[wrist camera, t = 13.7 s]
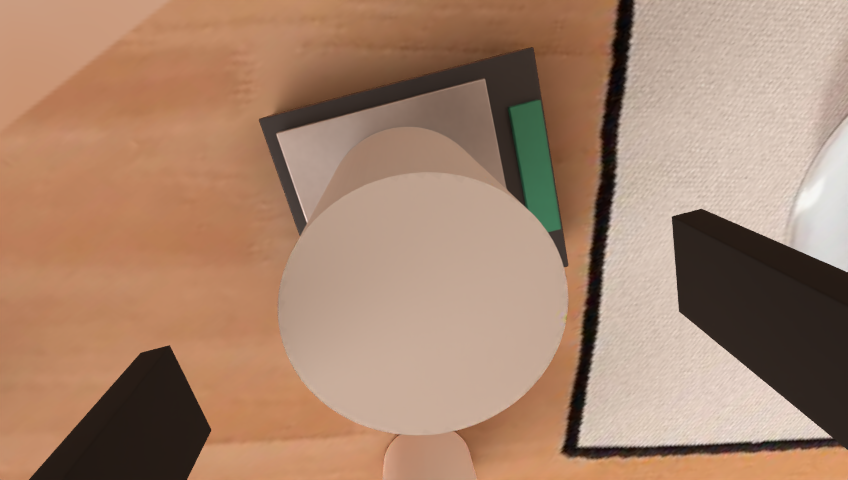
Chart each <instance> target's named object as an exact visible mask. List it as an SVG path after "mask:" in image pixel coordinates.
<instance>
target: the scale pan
mask: <svg viewBox="0 0 848 480" xmlns="http://www.w3.org/2000/svg"><path fill="white" fill-rule="evenodd" d="M397 127H419V128H425V129H429V130H432V131H435V132H438V133H440V134H442V135H444V136H446V137H448V138H450V139H451V140H453V141H454V142H456V143H457V144H458V145H459V146H461V147H462V148H463V149H464V150H465V151H466V152H467V153H468V154H469V155H470V156H471V157H472V158H473V159H474V160H475V161H477V162H478V163H479V164H480V165H481V166H482V167H483V168H484V169H485V170H486V171H487V172H488V173H489V174H490V175H492V176H493V177H494V178H495V179H496V180H497V181H498V182H499V183H500V184H501V185H502V186H503V187H504V188H505V189H506V190H507V188H506V183H505V178H504V173H503V168H502V163H501V158H500V152H499V147H498V142H497V137H496V132H495V127H494V122H493V117H492V112H491V106H490V101H489V96H488V91H487V86H486V81H485V79H484V78H481V79H477V80H473V81H469V82H465V83H462V84H458V85H454V86H450V87H446V88H443V89H439V90H435V91H431V92H427V93H424V94H420V95H416V96H412V97H408V98H404V99H401V100H397V101H393V102H389V103H385V104H382V105H378V106H374V107H370V108H366V109H363V110H359V111H355V112H351V113H347V114H344V115H340V116H336V117H332V118H328V119H324V120H321V121H317V122H313V123H309V124H305V125H302V126H298V127H294V128H290V129H286V130H283V131H279V132H277V133H276V135H277V138H278V141H279V144H280V147H281V150H282V153H283V156H284V158H285V161H286V164H287V167H288V170H289V173H290V176H291V179H292V182H293V185H294V188H295V190H296V193H297V196H298V199H299V202H300V205H301V208H302V211H303V214H304V217H305V219H306V222H307V223H308V221H309V219H310V217H311V215H312V213H313V212H314V210H315V208H316V206H317V204H318V202H319V200H320V199H321V197H322V195H323V193H324V191H325V189H326V188H327V186H328V184H329V182H330V180H331V178H332V176H333V175H334V173H335V171H336V169H337V167H338V166H339V164H340V162H341V161H342V160H343V158H344V157H345V156H346V155H347V153H348V152H349V151H350V150H351V149H352V148H353V147H354V146H356V145H357V144H358V143H359V142H361V141H362V140H364V139H365V138H367V137H369V136H371V135H373V134H375V133H378V132H380V131H383V130H386V129H391V128H397Z"/></svg>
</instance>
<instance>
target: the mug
mask: <svg viewBox="0 0 848 480" xmlns="http://www.w3.org/2000/svg"><path fill="white" fill-rule="evenodd" d="M383 480H477V477H476V474H475V470H474V466H473V463H472V459H471V455H470V452H469V449H468V446H467V444H466V443H465V441H464V440H463V439H462V438H461V437H460V436H459V435H458V434H457V433H455V432H454V431H452V432H448V433H441V434H433V435H402V434H400V435H399V436H397V437H396V438H395V439H394V440H393V441H392V442H391V444H390V445H389V447H388V449H387V451H386V454H385V457H384V466H383Z"/></svg>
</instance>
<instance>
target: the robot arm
mask: <svg viewBox="0 0 848 480" xmlns="http://www.w3.org/2000/svg"><path fill="white" fill-rule="evenodd" d="M672 225H673V238H674V251H675V264H676V277H677V290H678V303H679V312H681V313H682V314H683V315H684V316H685V317H687V318H688V319H689V320H690V321H692V322H693V323H694V324H695V325H696V326H698V327H699V328H700V329H701V330H702V331H704V332H705V333H706V334H707V335H709V336H710V337H711V338H712V339H713V340H715V341H716V342H717V343H718V344H719V345H721V346H722V347H723V348H724V349H726V350H727V351H728V352H729V353H730V354H732V355H733V356H734V357H735V358H737V359H738V360H739V361H740V362H741V363H743V364H744V365H745V366H746V367H747V368H749V369H750V370H751V371H752V372H754V373H755V374H756V375H757V376H758V377H760V378H761V379H762V380H763V381H765V382H766V383H767V384H768V385H769V386H771V387H772V388H773V389H774V390H775V391H777V392H778V393H779V394H780V395H782V396H783V397H784V398H785V399H786V400H788V401H789V402H790V403H791V404H793V405H794V406H795V407H796V408H797V409H799V410H800V411H801V412H802V413H803V414H805V415H806V416H807V417H808V418H810V419H811V420H812V421H813V422H814V423H816V424H817V425H818V426H819V427H821V428H822V429H823V430H824V431H825V432H827V433H828V434H829V435H830V436H831V437H833V438H834V439H835V440H836V441H838V442H839V443H840V444H841V445H842V446H844V447H845V448H846V449H847V450H848V272H845V271H843V270H841V269H839V268H836V267H834V266H832V265H829V264H827V263H825V262H822V261H820V260H818V259H816V258H813V257H811V256H809V255H806V254H804V253H802V252H800V251H797V250H795V249H793V248H790V247H788V246H786V245H783V244H781V243H779V242H777V241H774V240H772V239H770V238H767V237H765V236H763V235H760V234H758V233H756V232H754V231H751V230H749V229H747V228H744V227H742V226H740V225H738V224H735V223H733V222H731V221H728V220H726V219H724V218H721V217H719V216H717V215H715V214H712V213H710V212H708V211H705V210H703V209H699V210H695V211H691V212H688V213H684V214H680V215H676V216H672ZM210 432H211V428H210V426H209V424H208V422H207V420H206V418H205V416H204V414H203V412H202V410H201V408H200V406H199V404H198V402H197V400H196V398H195V396H194V394H193V392H192V390H191V388H190V386H189V384H188V381H187V379H186V377H185V375H184V373H183V371H182V369H181V367H180V365H179V363H178V361H177V359H176V357H175V355H174V353H173V351H172V349H171V347H170V345H169V346H165V347H161V348H158V349H154V350H150V351H146V352H142V353H140V354H139V356H138V357H137V358H136V359H135V360H134V361H133V362H132V363H131V365H130V366H129V367H128V368H127V369H126V370H125V371H124V373H123V374H122V375H121V376H120V377H119V378H118V379H117V380H116V382H115V383H114V384H113V385H112V386H111V387H110V388H109V390H108V391H107V392H106V393H105V394H104V395H103V396H102V397H101V399H100V400H99V401H98V402H97V403H96V404H95V405H94V407H93V408H92V409H91V410H90V411H89V412H88V413H87V414H86V416H85V417H84V418H83V419H82V420H81V421H80V422H79V424H78V425H77V426H76V427H75V428H74V429H73V430H72V431H71V433H70V434H69V435H68V436H67V437H66V438H65V439H64V441H63V442H62V443H61V444H60V445H59V446H58V447H57V449H56V450H55V451H54V452H53V453H52V454H51V455H50V456H49V458H48V459H47V460H46V461H45V462H44V463H43V464H42V466H41V467H40V468H39V469H38V470H37V471H36V472H35V473H34V475H33V476H32V477H31V478H30V479H29V480H187V478H188V476H189V474H190V472H191V470H192V468H193V466H194V464H195V462H196V460H197V458H198V456H199V454H200V452H201V450H202V448H203V446H204V444H205V442H206V440H207V438H208V436H209V434H210Z"/></svg>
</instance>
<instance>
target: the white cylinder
mask: <svg viewBox="0 0 848 480" xmlns="http://www.w3.org/2000/svg"><path fill="white" fill-rule="evenodd" d="M567 311H568V287H567V279H566V274H565V270H564V266H563V263H562V260H561V257H560V255H559V252H558V250H557V248H556V246H555V244H554V242H553V240H552V238H551V237H550V235H549V234H548V232H547V231H546V229H545V228H544V227H543V225H542V224H541V223H540V221H539V220H538V219H537V218H536V217H535V216H534V215H533V214H532V213H531V212H530V211H529V210H528V209H527V208H526V207H525V206H524V205H523V204H521V203H520V202H519V201H518V200H517V199H516V198H515V197H514V196H513V195H512V194H511V193H510V192H509V191H508V190H506V189H505V188H504V187H503V186H502V185H501V184H500V183H499V182H498V181H497V180H496V179H495V178H494V177H493V176H492V175H490V174H489V173H488V172H487V171H486V170H485V169H484V168H483V167H482V166H481V165H480V164H479V163H478V162H477V161H475V160H474V159H473V158H472V157H471V156H470V155H469V154H468V153H467V152H466V151H465V150H464V149H463V148H462V147H461V146H459V145H458V144H457V143H456V142H454V141H453V140H451V139H450V138H448V137H446V136H444V135H442V134H440V133H438V132H435V131H432V130H429V129H425V128H419V127H397V128H391V129H386V130H383V131H380V132H378V133H375V134H373V135H371V136H369V137H367V138H365V139H364V140H362V141H361V142H359V143H358V144H357V145H356V146H354V147H353V148H352V149H351V150H350V151H349V152H348V153H347V155H346V156H345V157H344V158H343V160H342V161H341V162H340V164H339V166H338V167H337V169H336V171H335V173H334V175H333V176H332V178H331V180H330V182H329V184H328V186H327V188H326V189H325V191H324V193H323V195H322V197H321V199H320V200H319V202H318V204H317V206H316V208H315V210H314V212H313V213H312V215H311V217H310V219H309V221H308V223H307V224H306V226H305V228H304V230H303V232H302V234H301V236H300V237H299V239H298V241H297V243H296V245H295V247H294V249H293V250H292V253H291V255H290V257H289V259H288V261H287V264H286V266H285V269H284V272H283V275H282V279H281V283H280V288H279V296H278V322H279V329H280V334H281V338H282V342H283V345H284V348H285V351H286V353H287V356H288V358H289V360H290V362H291V364H292V366H293V368H294V369H295V371H296V373H297V374H298V376H299V377H300V379H301V380H302V381H303V382H304V384H305V385H306V386H307V387H308V388H309V390H310V391H311V392H312V393H313V394H314V395H315V396H316V397H317V398H318V399H320V400H321V401H322V402H323V403H324V404H326V405H327V406H328V407H329V408H331V409H332V410H334V411H335V412H337V413H338V414H340V415H342V416H344V417H345V418H347V419H349V420H351V421H353V422H356V423H358V424H361V425H363V426H366V427H369V428H372V429H375V430H379V431H383V432H388V433H394V434H402V435H433V434H441V433H448V432H452V431H457V430H460V429H464V428H467V427H470V426H473V425H476V424H478V423H480V422H483V421H485V420H487V419H489V418H491V417H493V416H495V415H497V414H498V413H500V412H502V411H503V410H505V409H506V408H508V407H509V406H511V405H512V404H514V403H515V402H516V401H517V400H518V399H520V398H521V397H522V396H523V395H524V394H525V393H526V392H527V391H529V390H530V388H531V387H532V386H533V385H534V384H535V383H536V382H537V381H538V379H539V378H540V377H541V376H542V374H543V373H544V372H545V370H546V369H547V367H548V366H549V364H550V362H551V361H552V359H553V357H554V355H555V353H556V351H557V349H558V346H559V344H560V341H561V338H562V335H563V332H564V328H565V324H566V319H567Z"/></svg>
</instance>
